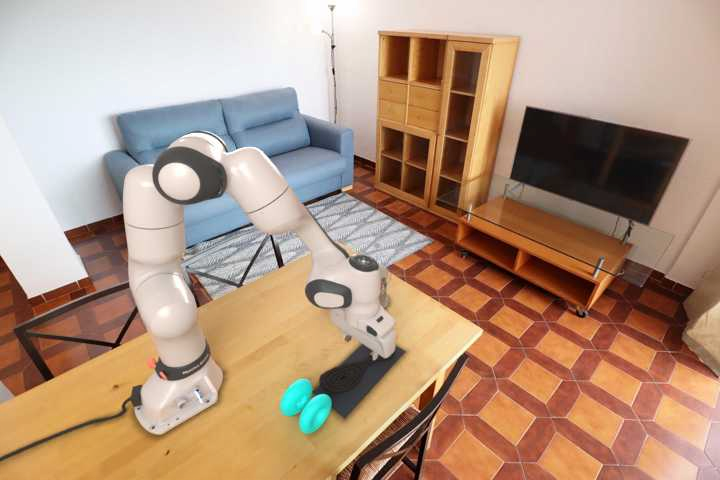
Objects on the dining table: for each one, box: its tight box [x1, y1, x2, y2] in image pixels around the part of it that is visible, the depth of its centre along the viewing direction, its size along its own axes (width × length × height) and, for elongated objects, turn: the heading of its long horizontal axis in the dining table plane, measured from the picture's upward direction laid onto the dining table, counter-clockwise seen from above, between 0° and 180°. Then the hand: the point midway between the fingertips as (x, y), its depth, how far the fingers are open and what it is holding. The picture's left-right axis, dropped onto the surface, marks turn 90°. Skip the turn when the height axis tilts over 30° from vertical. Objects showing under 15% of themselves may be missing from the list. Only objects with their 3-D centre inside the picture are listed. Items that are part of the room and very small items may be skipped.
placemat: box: [312, 343, 406, 419], centre depth 107 cm, size 28×12×1 cm, turn 140°
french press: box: [373, 242, 392, 309], centre depth 126 cm, size 10×12×25 cm
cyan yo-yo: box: [279, 378, 332, 435], centre depth 93 cm, size 10×10×10 cm
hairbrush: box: [318, 352, 395, 394], centre depth 106 cm, size 8×4×25 cm
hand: (360, 348), depth 101 cm, fingers open, 8 cm apart
